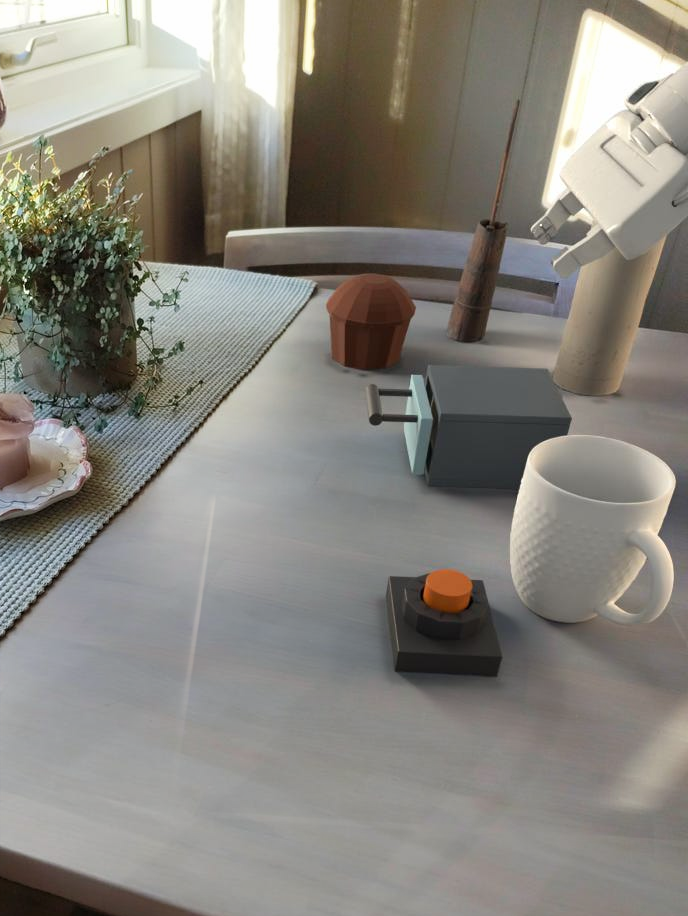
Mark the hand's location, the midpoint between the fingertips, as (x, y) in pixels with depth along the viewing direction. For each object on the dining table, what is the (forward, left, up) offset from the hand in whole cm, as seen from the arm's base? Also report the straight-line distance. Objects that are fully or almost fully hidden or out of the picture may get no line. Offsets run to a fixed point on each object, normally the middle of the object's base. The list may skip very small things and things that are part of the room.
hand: (545, 253), depth 83 cm
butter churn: (-1, -34, -22) cm, 40 cm away
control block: (+10, +30, -21) cm, 38 cm away
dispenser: (+2, 0, -21) cm, 22 cm away
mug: (-2, +26, -22) cm, 34 cm away
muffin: (+13, -27, -22) cm, 37 cm away
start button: (+10, +30, -18) cm, 36 cm away
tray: (+6, 0, -21) cm, 22 cm away
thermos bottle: (-14, -21, -22) cm, 33 cm away
